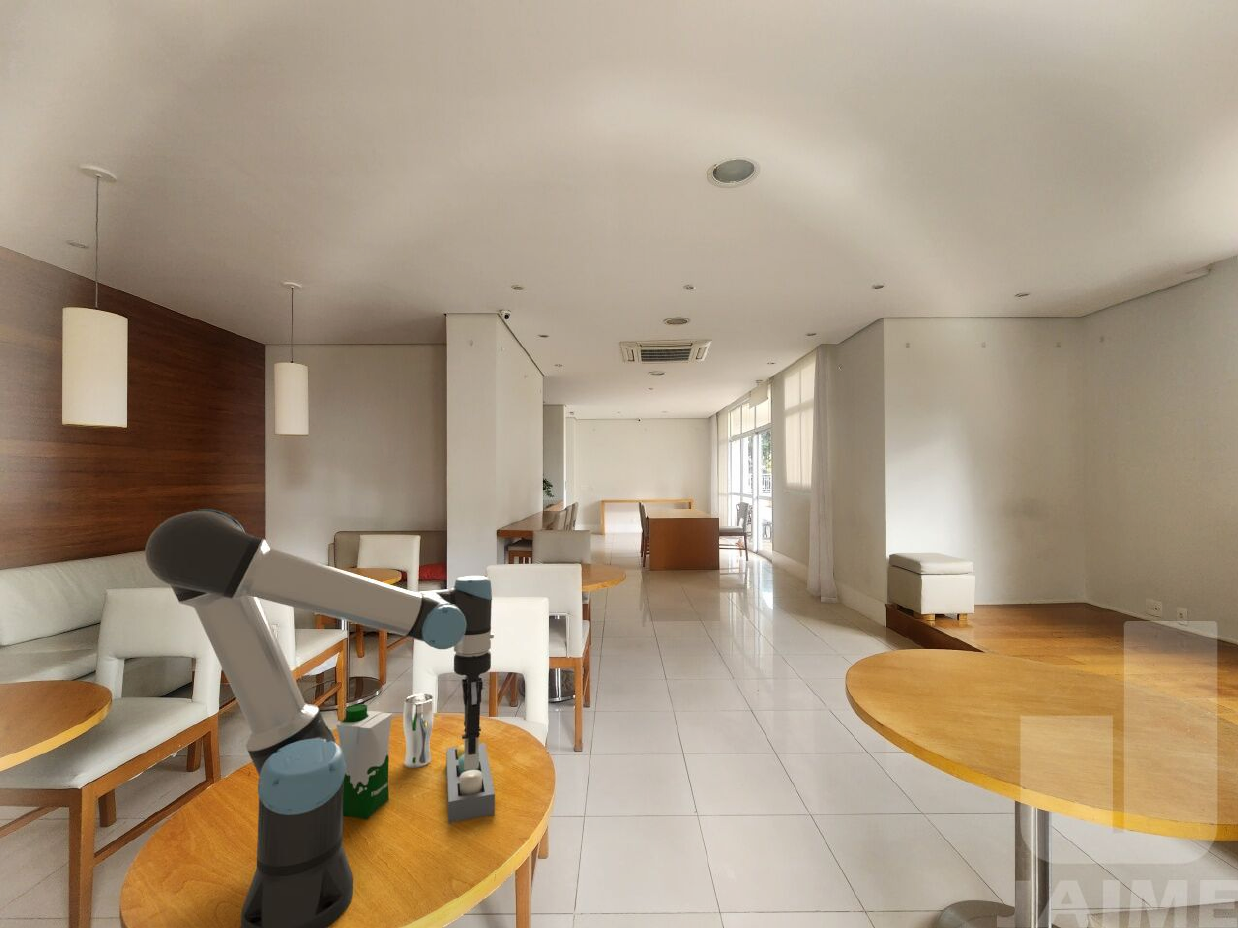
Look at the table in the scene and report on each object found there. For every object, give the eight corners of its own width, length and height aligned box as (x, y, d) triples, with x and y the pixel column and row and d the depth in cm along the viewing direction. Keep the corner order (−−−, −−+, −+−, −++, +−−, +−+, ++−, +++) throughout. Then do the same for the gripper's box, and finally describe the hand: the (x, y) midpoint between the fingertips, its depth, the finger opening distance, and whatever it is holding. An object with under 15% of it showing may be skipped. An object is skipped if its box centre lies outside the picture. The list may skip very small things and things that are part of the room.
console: (494, 814, 110) (495, 793, 111) (448, 822, 107) (448, 801, 108) (484, 759, 133) (485, 742, 133) (446, 765, 130) (446, 748, 130)
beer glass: (437, 755, 135) (438, 693, 136) (425, 769, 128) (426, 704, 129) (410, 754, 136) (412, 692, 137) (396, 768, 129) (398, 703, 130)
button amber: (477, 764, 127) (477, 750, 127) (457, 767, 125) (457, 752, 125) (475, 756, 131) (476, 742, 131) (456, 758, 129) (456, 744, 130)
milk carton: (358, 793, 118) (360, 699, 119) (395, 798, 116) (397, 702, 117) (328, 817, 109) (331, 715, 110) (369, 822, 108) (371, 718, 109)
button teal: (479, 776, 119) (479, 760, 119) (458, 779, 118) (458, 763, 118) (478, 766, 123) (478, 751, 123) (457, 769, 122) (458, 754, 122)
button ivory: (482, 795, 111) (482, 778, 112) (460, 798, 110) (460, 782, 110) (480, 784, 116) (481, 768, 116) (459, 787, 114) (459, 771, 114)
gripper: (494, 658, 110) (492, 779, 108) (488, 642, 122) (486, 750, 121) (455, 662, 107) (453, 786, 106) (452, 645, 120) (451, 755, 118)
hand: (471, 767), depth 113 cm, fingers closed
